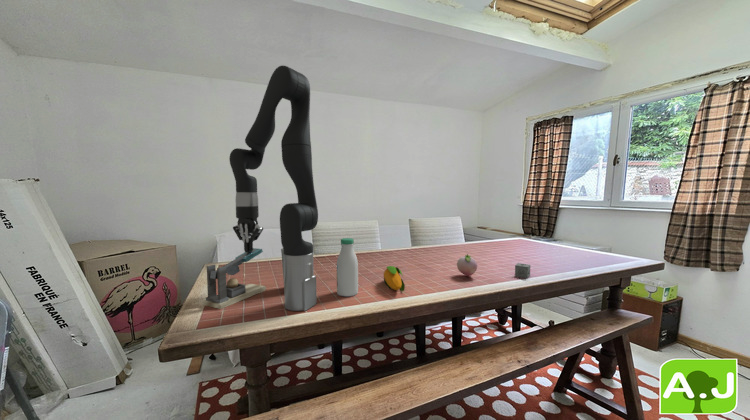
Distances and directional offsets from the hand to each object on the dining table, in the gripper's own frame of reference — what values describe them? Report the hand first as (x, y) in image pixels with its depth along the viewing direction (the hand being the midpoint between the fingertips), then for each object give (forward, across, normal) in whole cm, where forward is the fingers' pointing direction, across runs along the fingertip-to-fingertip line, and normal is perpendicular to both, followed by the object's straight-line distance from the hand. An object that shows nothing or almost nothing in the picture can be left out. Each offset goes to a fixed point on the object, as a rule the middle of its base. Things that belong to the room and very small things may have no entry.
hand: (248, 252), depth 103 cm
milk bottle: (+15, -34, -12) cm, 40 cm away
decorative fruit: (+15, -73, -51) cm, 90 cm away
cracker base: (+15, 0, +6) cm, 16 cm away
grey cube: (+15, -95, -62) cm, 114 cm away
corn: (+15, -48, -25) cm, 56 cm away
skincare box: (+15, -13, -8) cm, 22 cm away
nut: (+11, 0, +7) cm, 14 cm away
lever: (+8, 0, +7) cm, 10 cm away
